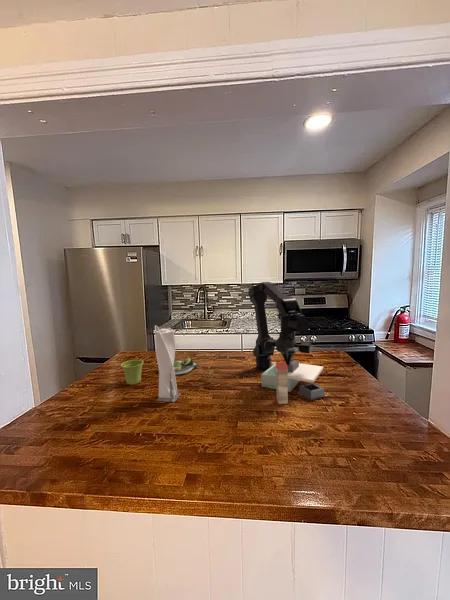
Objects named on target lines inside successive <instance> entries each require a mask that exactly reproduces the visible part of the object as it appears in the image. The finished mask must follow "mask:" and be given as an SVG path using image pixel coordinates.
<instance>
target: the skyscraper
mask: <svg viewBox="0 0 450 600" xmlns="http://www.w3.org/2000/svg"><path fill="white" fill-rule="evenodd" d="M153 328H154V331H155V333H154V334H155V335H154V339H155V341H154V342H155V345H154V349H155V356H156V362H157V365H158V369H159V371H158V398H157V399H156V401H157V402H166V403H175V402H176V401H177V400H178V399H179V398H180V397H181V395H182V393H181V392H178V385H177V379H176V375H175V372H174V368H173V365H174V361H175V357H176V340H175V339H176V338H175V331H174V329H172V328H171V327H168V328H160V327H159V326H158V325H156V324H155V325H154V327H153Z"/></svg>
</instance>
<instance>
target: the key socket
mask: <svg viewBox="0 0 450 600" xmlns="http://www.w3.org/2000/svg"><path fill="white" fill-rule="evenodd" d="M298 387H299V390H298V392H299V394H300V395H301V396H303V397H305V398H307V399H308V400H310V401H314V400H317V399H320V398H324V397H325V396H326V395H325V394H326V392H325V389H326V388H324V387H322V386H320V385H319V384H317V383H314V382H313V383H312V382H308V383H306V384H302V385H299V386H298Z"/></svg>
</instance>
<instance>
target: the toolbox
mask: <svg viewBox="0 0 450 600" xmlns="http://www.w3.org/2000/svg"><path fill="white" fill-rule="evenodd" d="M276 363H277V362H274V364H272V366H271V367H270V368H269V369H267V370H264V371H263V372H262V373H261V375H260V376H261V378H260V379H261V387H264V388H269V389H275V390H276ZM287 370H288V366H287ZM300 382H301V380H295V379H289V378H287V383H288V393H290V392H292V391H293V389H294V388H295V387H296V386H297V385H298V384H299V383H300Z"/></svg>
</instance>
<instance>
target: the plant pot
mask: <svg viewBox="0 0 450 600" xmlns="http://www.w3.org/2000/svg"><path fill="white" fill-rule="evenodd" d="M143 365H144V361H143V360H142V359H131V360H126V361H123V362H121V364H120V367H121V368H122V370H123V374H124V378H125V382H126V384H127V385H131V386H132V385H137V384H139V383H141V381H142V370H143Z"/></svg>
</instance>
